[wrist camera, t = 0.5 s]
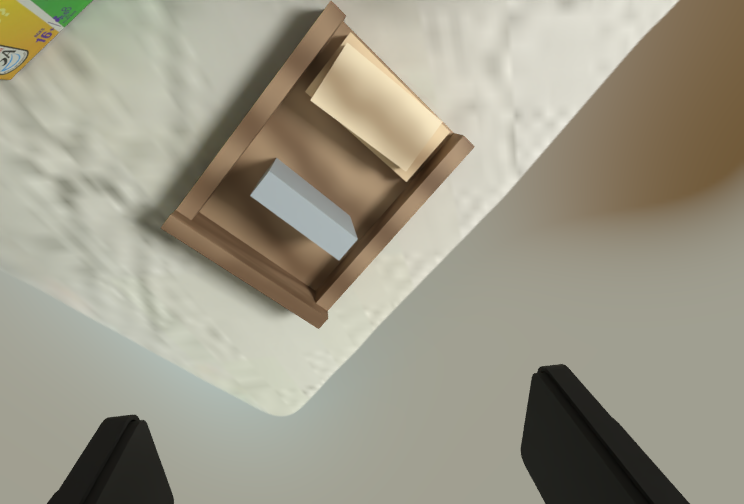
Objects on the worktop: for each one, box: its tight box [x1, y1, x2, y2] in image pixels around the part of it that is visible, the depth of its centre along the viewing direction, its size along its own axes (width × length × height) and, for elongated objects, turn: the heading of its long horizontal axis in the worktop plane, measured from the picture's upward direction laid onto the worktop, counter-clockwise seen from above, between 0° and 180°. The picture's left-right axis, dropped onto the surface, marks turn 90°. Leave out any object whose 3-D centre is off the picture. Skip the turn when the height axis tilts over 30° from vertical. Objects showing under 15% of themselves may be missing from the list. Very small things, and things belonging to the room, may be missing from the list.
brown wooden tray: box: [161, 1, 474, 329], centre depth 36 cm, size 23×17×5 cm
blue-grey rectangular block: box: [250, 158, 358, 260], centre depth 35 cm, size 2×9×7 cm, turn 49°
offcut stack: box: [305, 32, 450, 182], centre depth 35 cm, size 6×12×4 cm, turn 49°
